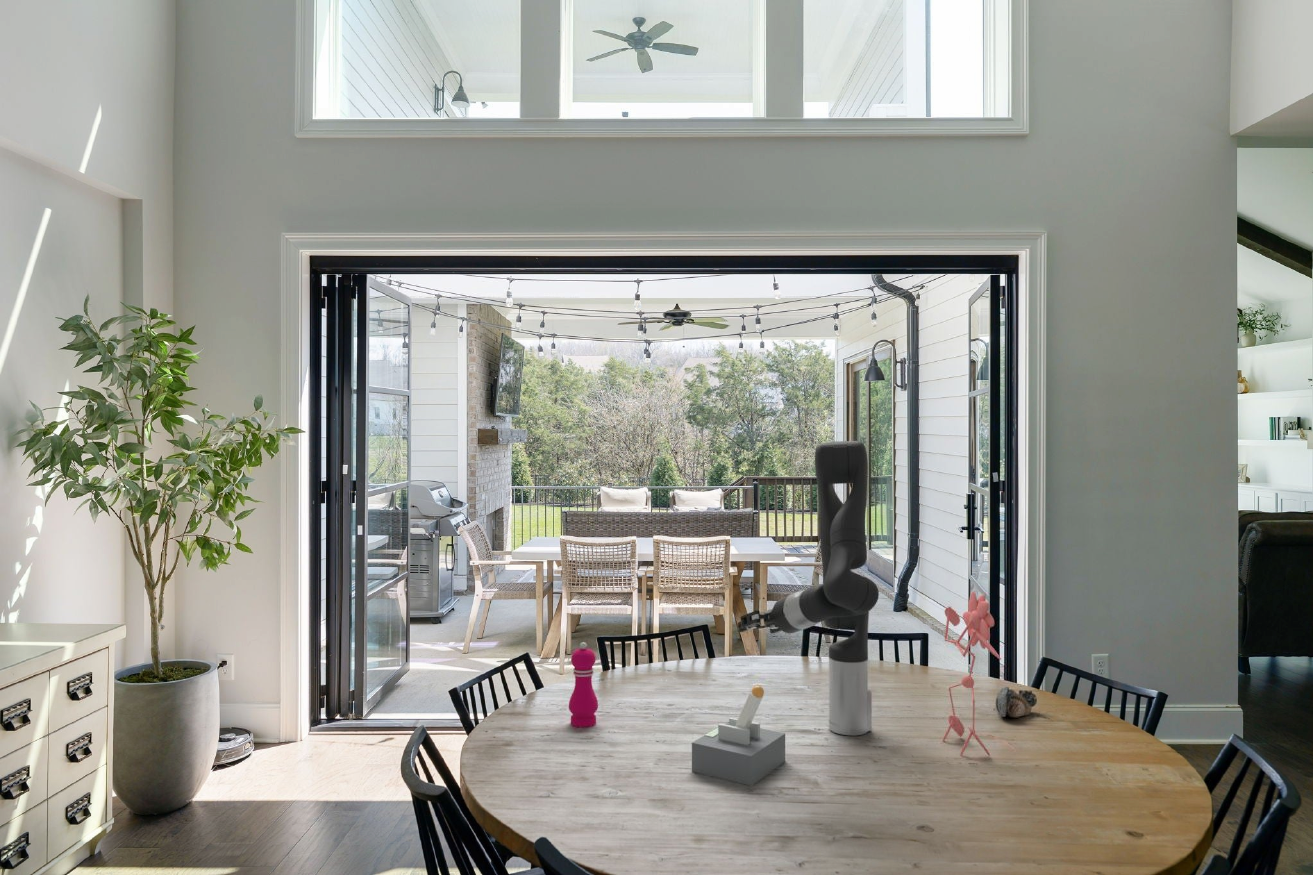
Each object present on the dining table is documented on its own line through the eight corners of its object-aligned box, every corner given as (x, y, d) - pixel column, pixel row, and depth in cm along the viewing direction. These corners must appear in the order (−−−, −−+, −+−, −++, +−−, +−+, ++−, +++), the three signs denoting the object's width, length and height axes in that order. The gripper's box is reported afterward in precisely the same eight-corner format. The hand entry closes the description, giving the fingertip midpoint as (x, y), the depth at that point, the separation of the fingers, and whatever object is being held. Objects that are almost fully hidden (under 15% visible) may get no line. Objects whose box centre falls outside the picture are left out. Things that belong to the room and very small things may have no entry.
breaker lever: (736, 730, 185) (758, 681, 182) (746, 737, 183) (768, 688, 180) (729, 734, 182) (751, 684, 179) (739, 741, 181) (762, 691, 178)
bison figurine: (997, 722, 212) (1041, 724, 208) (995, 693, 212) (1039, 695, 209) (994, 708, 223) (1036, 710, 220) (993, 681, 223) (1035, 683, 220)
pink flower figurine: (974, 769, 180) (977, 603, 180) (924, 729, 206) (927, 583, 206) (1043, 768, 181) (1046, 603, 182) (985, 728, 207) (988, 584, 208)
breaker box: (728, 748, 193) (728, 708, 193) (785, 761, 185) (785, 719, 185) (691, 771, 180) (691, 728, 180) (751, 785, 172) (751, 741, 172)
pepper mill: (593, 729, 206) (593, 646, 206) (564, 727, 207) (564, 644, 208) (601, 719, 213) (601, 639, 213) (573, 717, 215) (573, 638, 215)
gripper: (823, 595, 183) (778, 613, 196) (769, 591, 177) (726, 610, 189) (828, 630, 180) (783, 646, 193) (774, 627, 173) (730, 644, 186)
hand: (755, 628), depth 191 cm, fingers open, 8 cm apart
